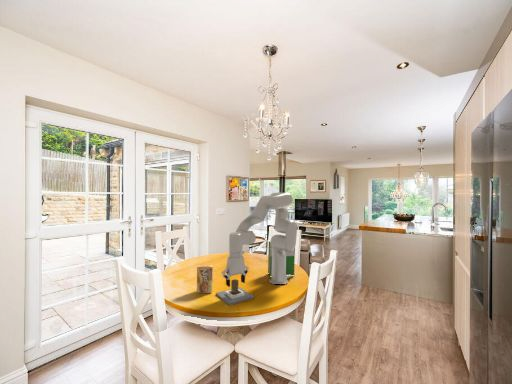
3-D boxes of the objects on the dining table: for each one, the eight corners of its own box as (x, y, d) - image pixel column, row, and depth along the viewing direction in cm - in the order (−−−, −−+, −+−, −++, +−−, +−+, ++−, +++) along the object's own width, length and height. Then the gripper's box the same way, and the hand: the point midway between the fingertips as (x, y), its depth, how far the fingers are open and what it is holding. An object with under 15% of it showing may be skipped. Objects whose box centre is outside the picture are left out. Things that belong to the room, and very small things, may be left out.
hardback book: (270, 277, 168) (270, 243, 169) (268, 274, 176) (268, 241, 176) (294, 276, 171) (294, 243, 171) (291, 273, 178) (291, 241, 178)
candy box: (212, 290, 144) (213, 265, 144) (211, 293, 140) (212, 267, 140) (197, 290, 144) (198, 265, 144) (196, 293, 139) (197, 267, 139)
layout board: (239, 288, 147) (239, 284, 147) (254, 298, 134) (254, 293, 134) (215, 294, 138) (216, 290, 138) (229, 305, 125) (229, 300, 125)
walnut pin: (235, 292, 139) (236, 278, 139) (239, 295, 136) (239, 281, 136) (229, 294, 137) (230, 280, 137) (233, 296, 133) (233, 282, 134)
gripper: (245, 250, 145) (244, 279, 145) (219, 255, 135) (219, 285, 135) (252, 253, 138) (251, 283, 138) (225, 258, 129) (225, 289, 129)
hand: (235, 284), depth 137 cm, fingers open, 9 cm apart
